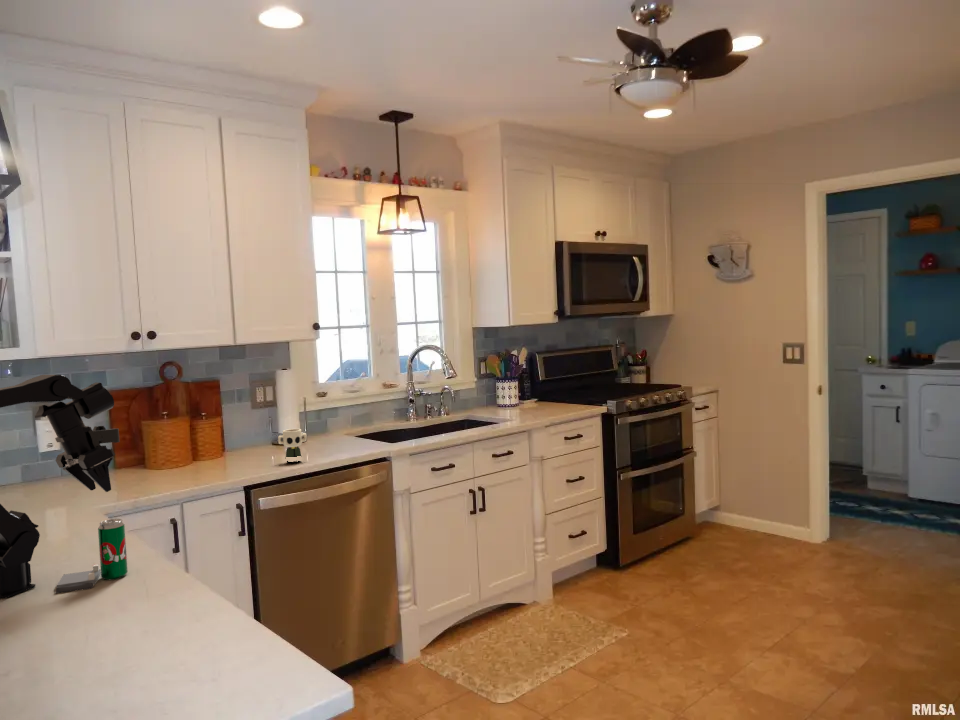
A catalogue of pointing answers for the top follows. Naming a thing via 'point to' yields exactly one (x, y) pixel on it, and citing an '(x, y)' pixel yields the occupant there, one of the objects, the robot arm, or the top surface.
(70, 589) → the dark grey rod
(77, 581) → the switch plate
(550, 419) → the top surface
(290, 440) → the character mug
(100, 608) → the top surface
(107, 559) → the soda can
